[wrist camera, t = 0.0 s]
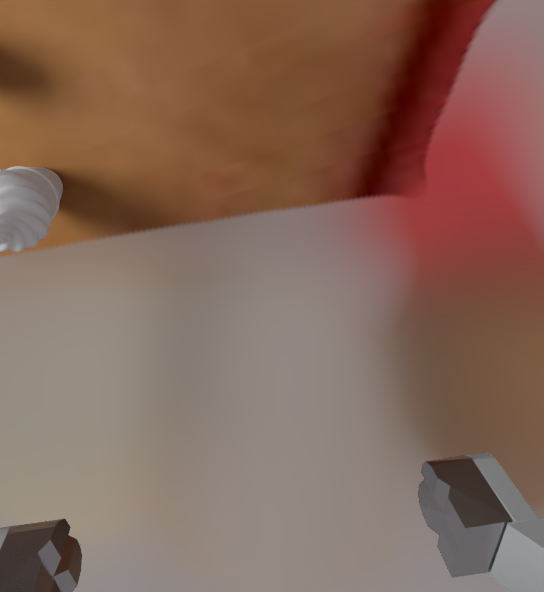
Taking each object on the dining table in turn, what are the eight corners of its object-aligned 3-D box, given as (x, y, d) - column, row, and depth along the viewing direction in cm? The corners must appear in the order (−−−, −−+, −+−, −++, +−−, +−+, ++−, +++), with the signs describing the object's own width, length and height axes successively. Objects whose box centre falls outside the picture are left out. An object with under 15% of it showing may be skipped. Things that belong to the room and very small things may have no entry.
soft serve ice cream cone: (-5, 189, 50) (-89, 236, 36) (27, 133, 48) (-50, 161, 34) (60, 229, 54) (7, 286, 40) (93, 179, 51) (49, 221, 37)
